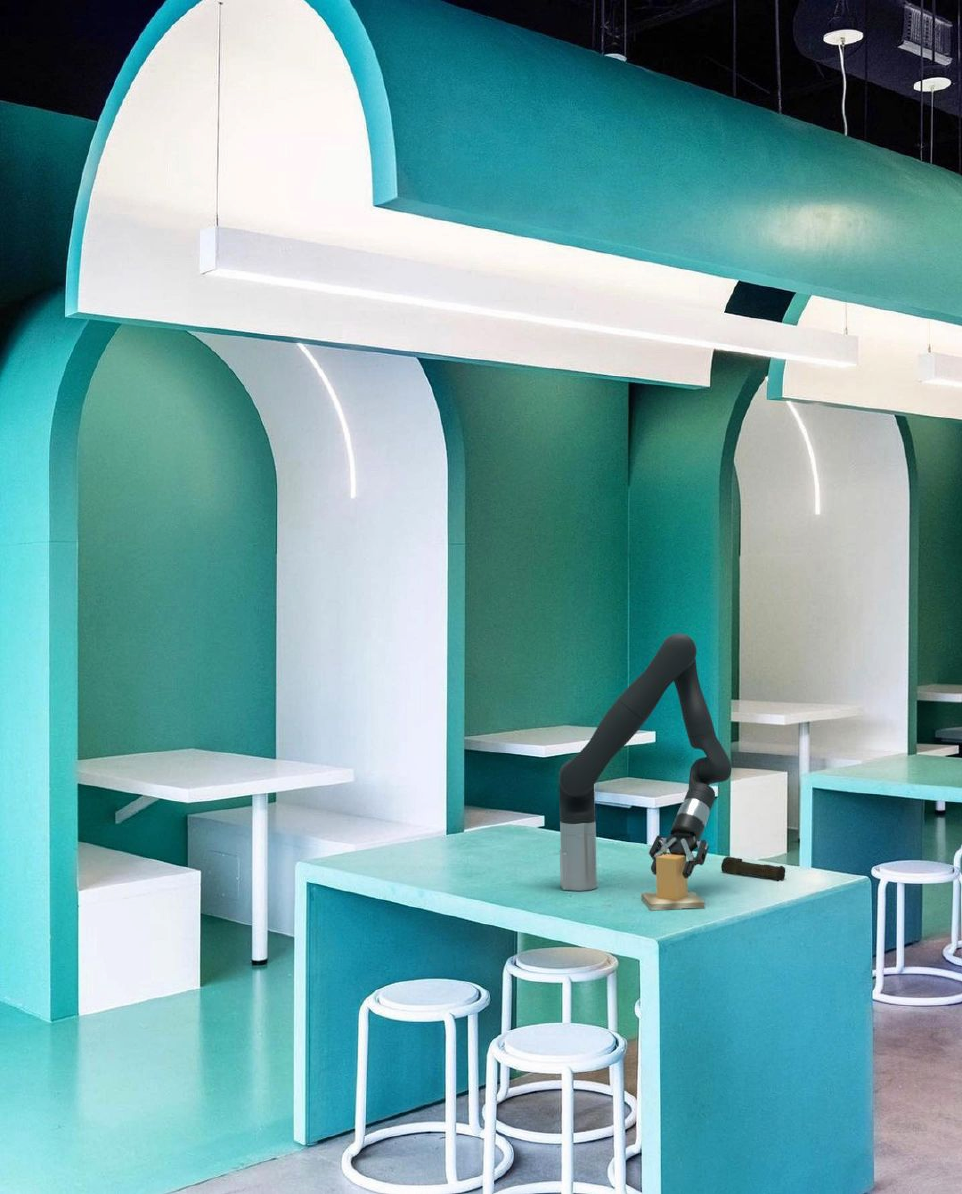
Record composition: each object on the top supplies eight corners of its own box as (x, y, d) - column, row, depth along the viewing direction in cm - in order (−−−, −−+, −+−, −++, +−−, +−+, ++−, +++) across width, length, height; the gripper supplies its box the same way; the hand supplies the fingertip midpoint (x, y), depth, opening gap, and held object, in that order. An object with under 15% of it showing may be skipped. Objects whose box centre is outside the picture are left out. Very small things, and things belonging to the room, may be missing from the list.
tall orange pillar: (656, 898, 337) (656, 857, 337) (668, 894, 342) (667, 853, 342) (676, 900, 334) (675, 859, 334) (687, 896, 338) (686, 855, 338)
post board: (650, 910, 331) (650, 879, 331) (641, 899, 344) (640, 869, 344) (704, 908, 332) (703, 877, 332) (693, 897, 345) (692, 867, 345)
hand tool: (786, 880, 364) (786, 862, 364) (778, 882, 362) (777, 864, 362) (727, 871, 378) (727, 854, 378) (719, 873, 375) (718, 856, 375)
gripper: (660, 810, 348) (638, 863, 339) (711, 814, 340) (689, 868, 331) (671, 828, 353) (649, 881, 343) (721, 832, 344) (700, 886, 335)
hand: (669, 874), depth 337 cm, fingers open, 8 cm apart
